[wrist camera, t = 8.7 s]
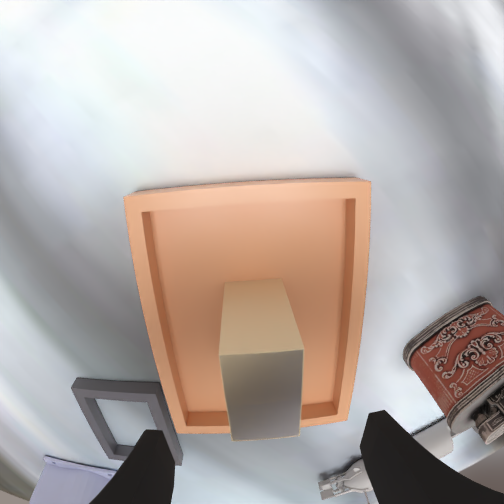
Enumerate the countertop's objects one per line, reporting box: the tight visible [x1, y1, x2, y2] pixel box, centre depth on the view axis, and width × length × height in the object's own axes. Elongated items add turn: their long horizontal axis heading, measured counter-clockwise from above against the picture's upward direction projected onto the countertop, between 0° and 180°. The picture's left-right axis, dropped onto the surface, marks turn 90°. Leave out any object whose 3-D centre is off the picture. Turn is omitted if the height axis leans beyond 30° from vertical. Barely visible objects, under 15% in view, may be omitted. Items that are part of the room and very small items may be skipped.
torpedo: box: [318, 418, 478, 504], centre depth 21 cm, size 18×5×6 cm, turn 113°
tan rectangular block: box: [219, 278, 304, 441], centre depth 15 cm, size 3×5×6 cm, turn 3°
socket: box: [71, 378, 183, 466], centre depth 20 cm, size 7×9×1 cm
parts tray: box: [124, 178, 371, 434], centre depth 17 cm, size 12×16×2 cm
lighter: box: [403, 296, 504, 444], centre depth 15 cm, size 8×3×10 cm, turn 117°
